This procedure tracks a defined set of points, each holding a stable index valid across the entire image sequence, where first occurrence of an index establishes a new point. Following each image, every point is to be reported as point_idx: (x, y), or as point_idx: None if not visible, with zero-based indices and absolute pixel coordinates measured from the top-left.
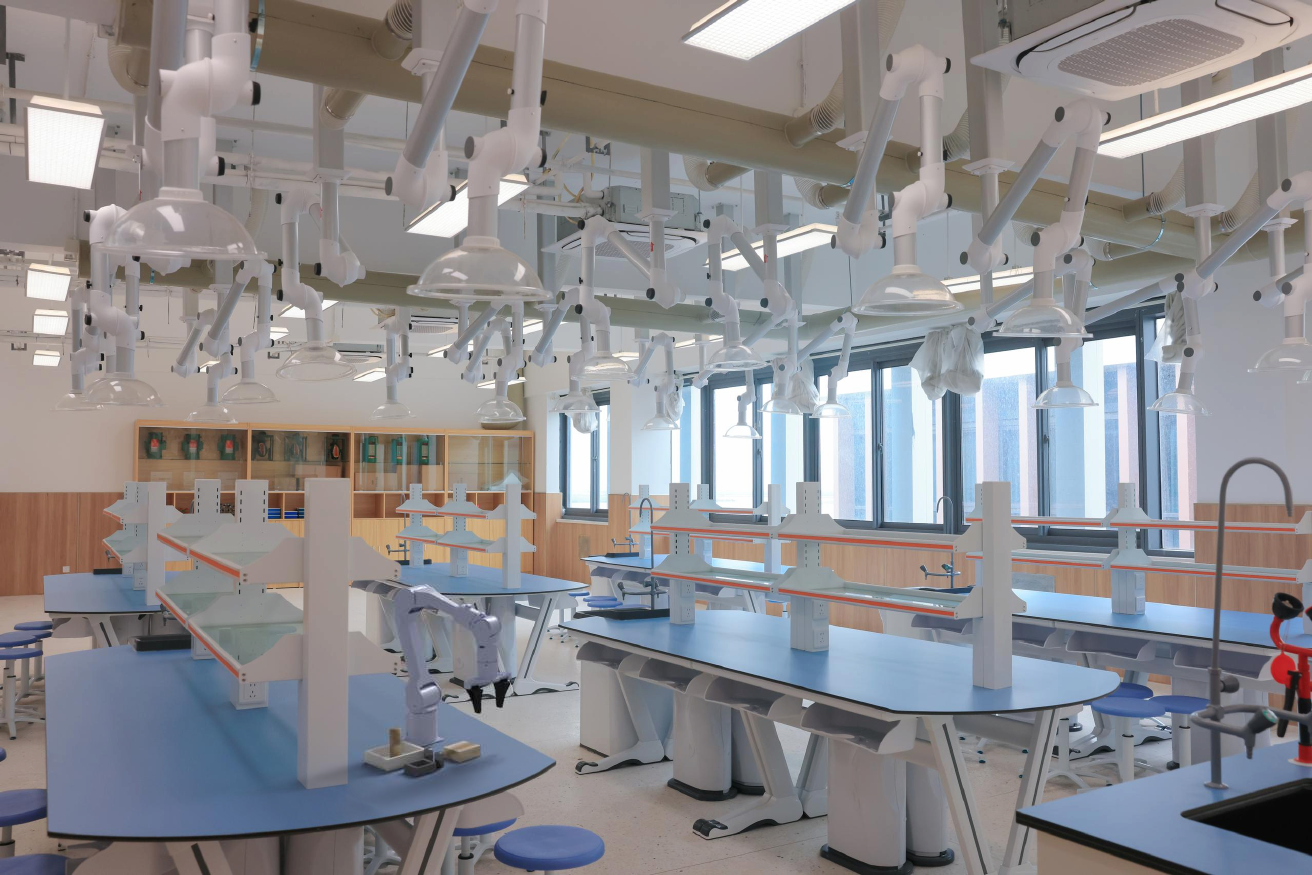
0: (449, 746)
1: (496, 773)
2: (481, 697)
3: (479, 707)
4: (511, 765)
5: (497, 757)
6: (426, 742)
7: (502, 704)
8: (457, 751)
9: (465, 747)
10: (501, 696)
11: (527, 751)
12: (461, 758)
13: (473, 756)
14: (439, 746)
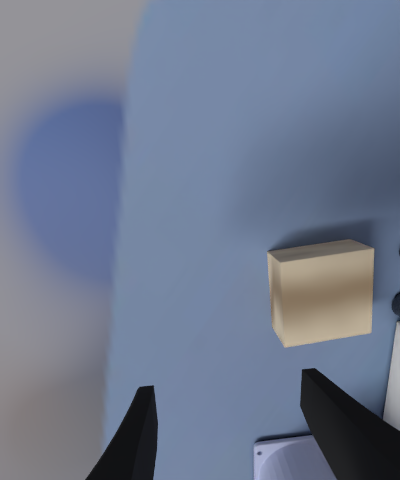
0: (353, 326)
1: (350, 39)
2: (383, 452)
3: (340, 390)
4: (261, 74)
5: (240, 195)
6: (309, 445)
7: (140, 398)
8: (373, 260)
9: (328, 279)
10: (139, 456)
11: (126, 172)
12: (351, 243)
13: (298, 249)
14: (292, 407)
